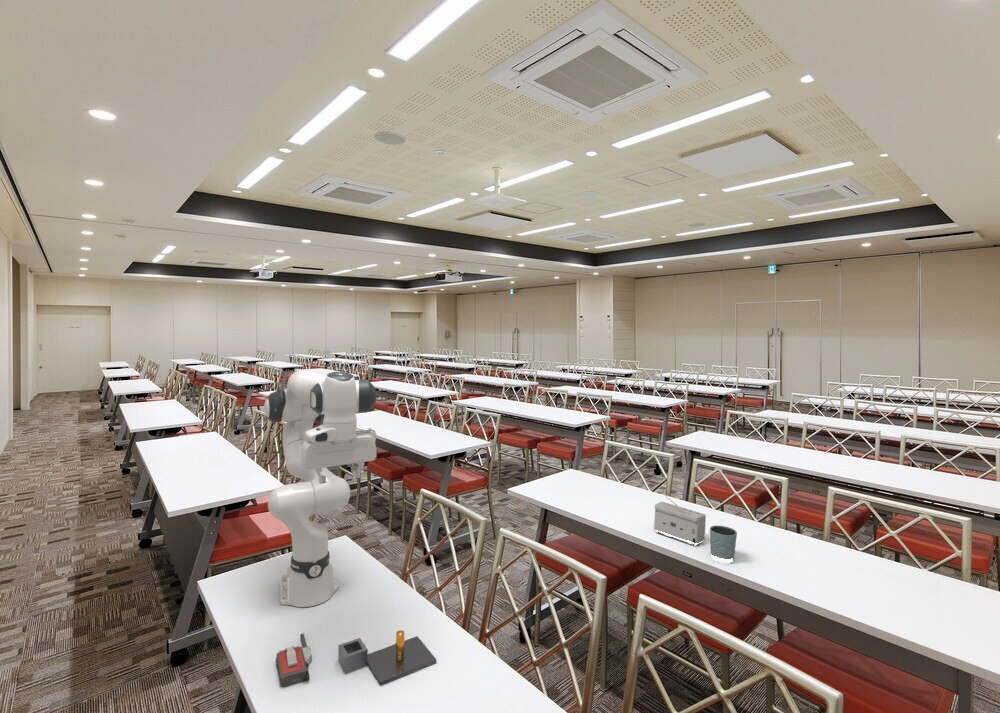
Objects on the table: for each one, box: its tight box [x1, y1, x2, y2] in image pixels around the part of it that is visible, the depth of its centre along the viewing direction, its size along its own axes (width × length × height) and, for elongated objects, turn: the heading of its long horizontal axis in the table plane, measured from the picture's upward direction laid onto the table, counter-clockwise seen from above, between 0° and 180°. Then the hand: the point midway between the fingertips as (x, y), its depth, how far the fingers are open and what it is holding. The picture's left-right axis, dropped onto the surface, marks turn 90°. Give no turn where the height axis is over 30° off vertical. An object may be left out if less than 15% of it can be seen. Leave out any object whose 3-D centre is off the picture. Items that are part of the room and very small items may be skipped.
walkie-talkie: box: [275, 632, 313, 688], centre depth 135 cm, size 9×4×20 cm
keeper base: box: [367, 630, 437, 687], centre depth 136 cm, size 12×16×8 cm
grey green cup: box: [709, 525, 738, 559], centre depth 202 cm, size 10×10×12 cm
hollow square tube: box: [337, 637, 369, 675], centre depth 135 cm, size 6×6×4 cm
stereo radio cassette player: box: [653, 489, 707, 543], centre depth 221 cm, size 21×8×20 cm, turn 44°
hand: (339, 480), depth 139 cm, fingers open, 8 cm apart
